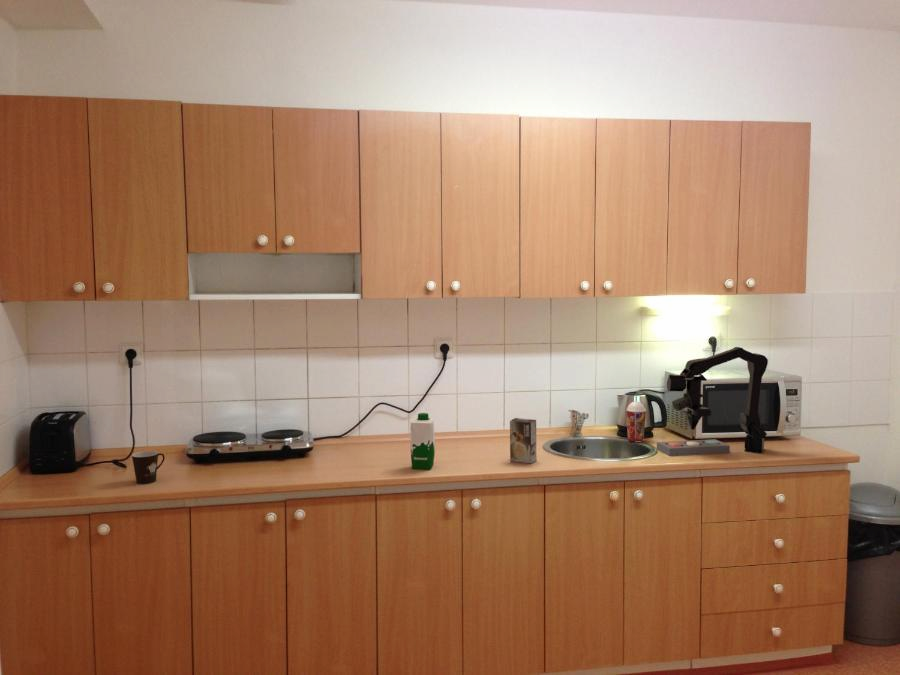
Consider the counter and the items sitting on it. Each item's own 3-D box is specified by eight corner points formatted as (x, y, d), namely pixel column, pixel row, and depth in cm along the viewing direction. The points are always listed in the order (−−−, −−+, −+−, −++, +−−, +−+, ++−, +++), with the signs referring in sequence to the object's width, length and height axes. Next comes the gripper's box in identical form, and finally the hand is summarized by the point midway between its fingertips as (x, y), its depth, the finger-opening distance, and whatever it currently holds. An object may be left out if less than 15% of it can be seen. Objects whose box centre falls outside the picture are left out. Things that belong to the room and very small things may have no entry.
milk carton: (436, 464, 270) (435, 413, 269) (432, 470, 261) (431, 417, 260) (413, 463, 272) (413, 412, 270) (409, 470, 263) (408, 417, 261)
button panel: (729, 452, 284) (729, 445, 284) (669, 455, 280) (669, 448, 280) (715, 446, 295) (715, 439, 295) (656, 449, 291) (656, 442, 291)
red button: (683, 450, 284) (683, 444, 284) (671, 450, 283) (671, 445, 283) (677, 447, 289) (677, 442, 289) (665, 447, 288) (665, 442, 288)
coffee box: (537, 460, 276) (537, 419, 274) (531, 463, 270) (531, 422, 269) (515, 457, 280) (515, 417, 279) (509, 461, 274) (509, 420, 273)
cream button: (701, 449, 286) (701, 444, 285) (690, 449, 285) (690, 444, 285) (695, 446, 290) (695, 441, 290) (684, 447, 290) (684, 441, 289)
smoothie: (646, 443, 301) (647, 397, 300) (626, 442, 303) (627, 396, 301) (644, 438, 310) (645, 393, 308) (624, 438, 311) (625, 393, 309)
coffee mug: (136, 486, 245) (134, 458, 244) (130, 480, 252) (129, 453, 251) (171, 480, 252) (169, 453, 251) (164, 475, 259) (163, 448, 258)
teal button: (719, 448, 287) (720, 443, 287) (708, 449, 286) (708, 443, 286) (713, 445, 292) (713, 440, 292) (702, 446, 291) (702, 440, 291)
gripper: (664, 388, 293) (663, 425, 295) (686, 395, 275) (685, 435, 276) (689, 387, 295) (688, 424, 297) (712, 395, 277) (711, 434, 278)
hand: (692, 429), depth 287 cm, fingers closed
